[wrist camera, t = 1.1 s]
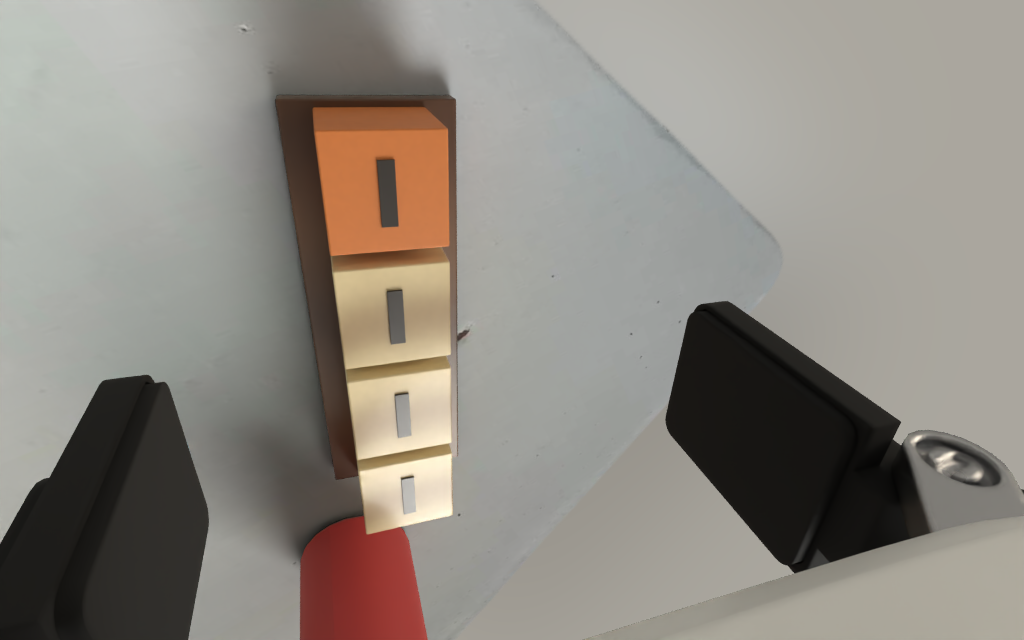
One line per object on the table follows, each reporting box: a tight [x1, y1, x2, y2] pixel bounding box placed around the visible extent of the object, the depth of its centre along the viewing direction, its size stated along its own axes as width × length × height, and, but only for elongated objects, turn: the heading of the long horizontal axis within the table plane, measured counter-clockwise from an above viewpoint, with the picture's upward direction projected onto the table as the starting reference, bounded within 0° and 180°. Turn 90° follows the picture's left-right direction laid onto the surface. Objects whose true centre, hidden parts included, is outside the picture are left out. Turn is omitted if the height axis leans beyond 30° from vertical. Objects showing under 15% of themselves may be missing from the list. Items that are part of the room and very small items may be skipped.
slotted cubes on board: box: [275, 95, 458, 534], centre depth 25 cm, size 20×7×6 cm, turn 178°
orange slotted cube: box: [312, 107, 449, 256], centre depth 21 cm, size 4×4×4 cm
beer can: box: [300, 516, 428, 640], centre depth 30 cm, size 7×7×12 cm
